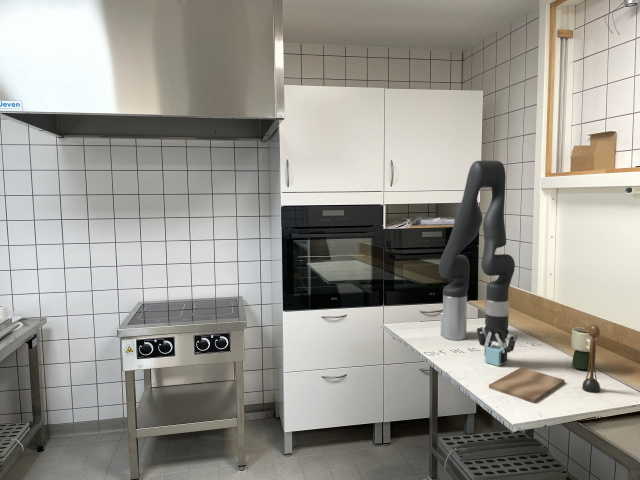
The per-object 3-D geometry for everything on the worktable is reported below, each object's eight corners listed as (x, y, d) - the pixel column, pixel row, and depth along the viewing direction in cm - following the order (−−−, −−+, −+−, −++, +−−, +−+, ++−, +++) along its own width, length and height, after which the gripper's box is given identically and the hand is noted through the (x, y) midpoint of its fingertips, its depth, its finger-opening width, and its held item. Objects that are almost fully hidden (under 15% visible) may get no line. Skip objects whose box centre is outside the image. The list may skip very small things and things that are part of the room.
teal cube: (485, 362, 169) (485, 348, 168) (492, 358, 172) (493, 344, 172) (498, 366, 165) (498, 351, 165) (506, 362, 168) (506, 348, 168)
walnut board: (488, 387, 149) (488, 384, 149) (521, 370, 162) (521, 367, 162) (534, 403, 138) (534, 399, 138) (564, 382, 151) (564, 379, 151)
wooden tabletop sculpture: (576, 385, 149) (579, 321, 147) (590, 384, 150) (593, 320, 147) (589, 393, 144) (592, 327, 141) (603, 392, 144) (607, 326, 142)
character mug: (601, 374, 157) (602, 335, 155) (577, 374, 157) (579, 335, 156) (586, 362, 167) (588, 325, 166) (564, 361, 168) (566, 325, 167)
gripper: (472, 310, 169) (471, 357, 172) (511, 318, 159) (509, 369, 161) (483, 306, 174) (482, 352, 176) (522, 314, 164) (521, 363, 166)
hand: (495, 360), depth 169 cm, fingers closed on teal cube, 5 cm apart
